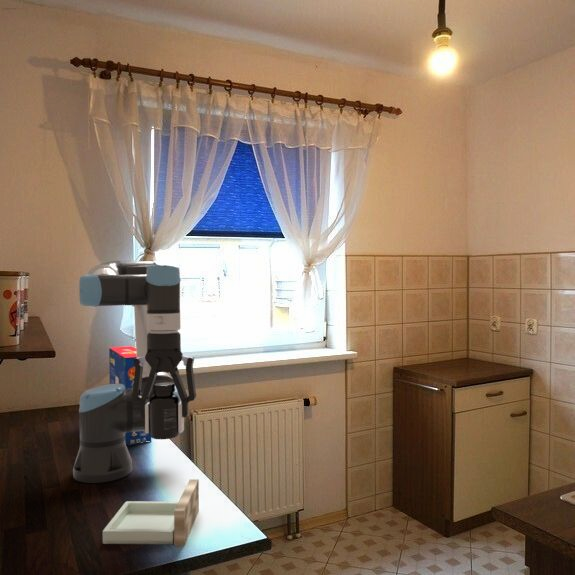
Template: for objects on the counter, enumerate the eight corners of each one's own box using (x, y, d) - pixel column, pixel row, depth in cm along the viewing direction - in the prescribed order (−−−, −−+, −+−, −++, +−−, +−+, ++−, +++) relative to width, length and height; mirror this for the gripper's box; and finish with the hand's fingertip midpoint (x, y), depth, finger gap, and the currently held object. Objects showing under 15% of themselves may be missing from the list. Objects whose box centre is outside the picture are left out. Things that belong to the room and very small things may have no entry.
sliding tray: (126, 512, 118) (126, 501, 118) (188, 512, 117) (187, 501, 117) (102, 543, 104) (102, 531, 104) (172, 544, 103) (172, 531, 103)
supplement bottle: (182, 431, 124) (181, 380, 124) (177, 439, 117) (177, 386, 117) (152, 432, 124) (152, 381, 124) (146, 440, 117) (146, 386, 117)
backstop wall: (190, 510, 119) (189, 479, 119) (198, 510, 119) (198, 479, 119) (174, 545, 103) (174, 510, 103) (184, 545, 103) (184, 510, 103)
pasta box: (151, 442, 169) (150, 355, 169) (125, 445, 165) (125, 357, 165) (132, 421, 194) (131, 346, 193) (110, 424, 190) (109, 347, 189)
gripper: (115, 333, 117) (116, 436, 116) (204, 332, 117) (205, 435, 117) (125, 330, 124) (126, 427, 124) (209, 329, 124) (210, 426, 124)
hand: (164, 431), depth 120 cm, fingers closed on supplement bottle, 7 cm apart
